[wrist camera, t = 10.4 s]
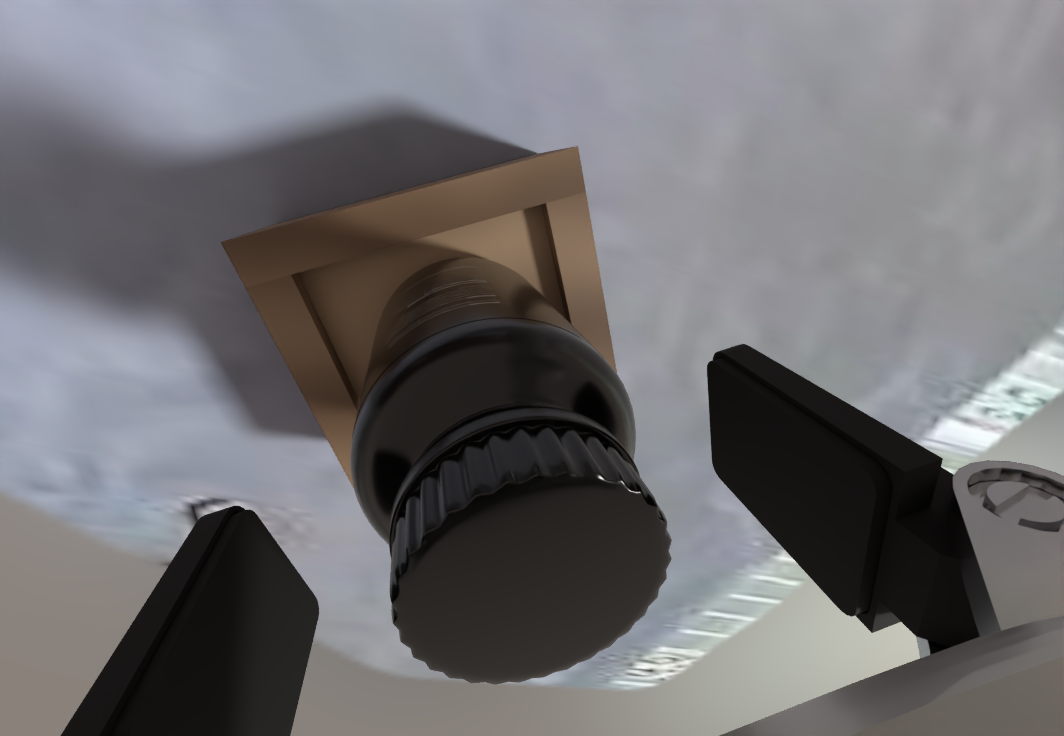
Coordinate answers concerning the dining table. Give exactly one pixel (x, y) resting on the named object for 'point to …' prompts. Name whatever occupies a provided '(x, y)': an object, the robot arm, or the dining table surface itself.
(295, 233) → the display plinth
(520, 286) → the supplement bottle
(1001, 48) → the dining table surface
